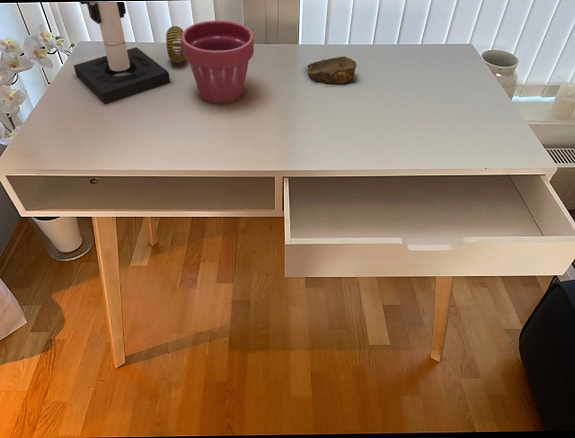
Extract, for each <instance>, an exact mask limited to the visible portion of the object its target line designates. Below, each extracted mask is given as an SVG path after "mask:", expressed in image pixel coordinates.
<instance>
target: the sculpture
mask: <svg viewBox="0 0 575 438" xmlns="http://www.w3.org/2000/svg"><path fill="white" fill-rule="evenodd" d="M183 32H184V29H183V28H182V27H180V26H178V25H172V26H171V27H169V28H168V29H167V31H166V33H165V34H166V35H165V44H166V52H167V55H168V58H169V59H170V61H171V62H173V63H175V64H182V63H184V62H185V61H186V59H185V57H184V55H183V49H182V33H183Z"/></svg>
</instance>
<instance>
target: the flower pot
mask: <svg viewBox="0 0 575 438" xmlns="http://www.w3.org/2000/svg"><path fill="white" fill-rule="evenodd" d="M183 31H184V32H183V33H182V39H181V40H182V49H183V55H184V57H185V61H187V62H188V63H189V66H190V69H191V71H192V75H193V77H194V81H195V84H196V86H197V89H198V92H199V96H200V97H201V98H202V99H203V100H204V101H206V102H209V103H212V104H228V103H232V102H235V101H237V100H239V99H241V97H242V96H243V94H244V88H245V83H246V79H247V72H248V67H249V61H250V60H251V59H252V58H253V55H254V52H255V49H254V47H255V44H254V34H253V32H252V30H251V29H250V28H249V27H247V26H245V24H241V23H239V22H235V21H230V20H207V21H200V22H196V23H194V24H192V25H189V26H188V27H187V28H184V29H183Z"/></svg>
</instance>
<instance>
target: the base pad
mask: <svg viewBox="0 0 575 438" xmlns="http://www.w3.org/2000/svg"><path fill="white" fill-rule="evenodd" d="M127 53H128V58H129V63H130V67H129V68H128V69H126V70H123V71H113V70H111V69H110V67H109V63H108V59H107V55H105V56H101V57H97V58H94V59H90V60H87V61H84V62H80V63H76V64H74V65H73V69H74V73H75V76H76V77H77V78H78V79H79V80H80V81H81V82H82V83H83V84H84V85H85V86H86V87H87V88H88V89H89V90H90V91H91V92H93V94H95V95H96V96H97V97H98V98H99V99H100V100H101V101H102V102H103V103H104V104H105V105H107V104H110V103H113V102H117V101H118V100H122V99H124V98H128V97H131V96H134V95H136V94H137V95H138V94H141V93H143V92H145V91H149V90H151V89H155V88H157V87H160V86H163V85H166V84H169V83H171V80H170V79H171V78H170V73H169V71H168V70H167V69H165V68H164V67H163V66H162V65H161V64H159V63H158V62H156V61H155V60H154V59H153V58H151V57H150V56H148V55H147V54H146V53H145V52H143V51H142V50H141V49H140V48H138V47H137V46H136V47H132V48H129V49H127ZM118 73H127V74H125V75H124V74H123V75H116V74H118ZM114 74H115V75H114Z"/></svg>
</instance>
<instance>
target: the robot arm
mask: <svg viewBox="0 0 575 438" xmlns="http://www.w3.org/2000/svg"><path fill="white" fill-rule="evenodd" d="M79 4H80V5H86V6H87V10H88V14H89V18H90V19H91V20H92V21H93V22H94V23H96V24H97V25H99V24H100V23H101V18H100V14H99V9H98V5H97V4H96V2H79ZM117 5H118V9H119V14H120V19H123V18H125V14H126V12H127V9H126V5H125V1H124V2H117Z"/></svg>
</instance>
